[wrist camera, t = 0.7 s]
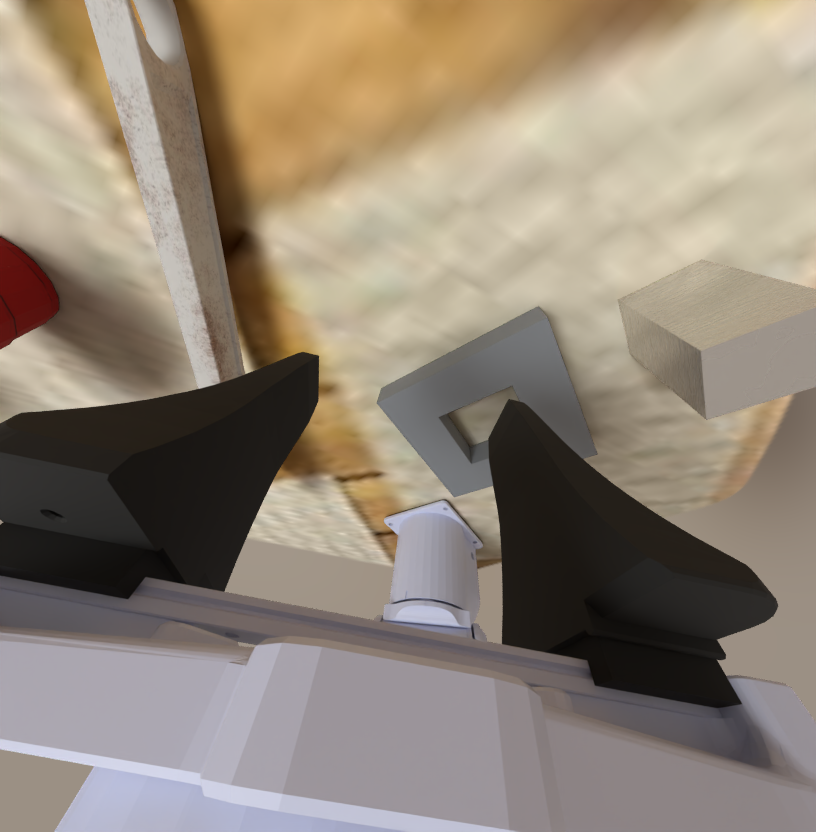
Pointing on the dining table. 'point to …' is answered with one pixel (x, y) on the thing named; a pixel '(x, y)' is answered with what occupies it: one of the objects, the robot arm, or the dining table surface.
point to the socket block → (480, 377)
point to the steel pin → (724, 336)
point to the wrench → (171, 173)
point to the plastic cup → (22, 294)
